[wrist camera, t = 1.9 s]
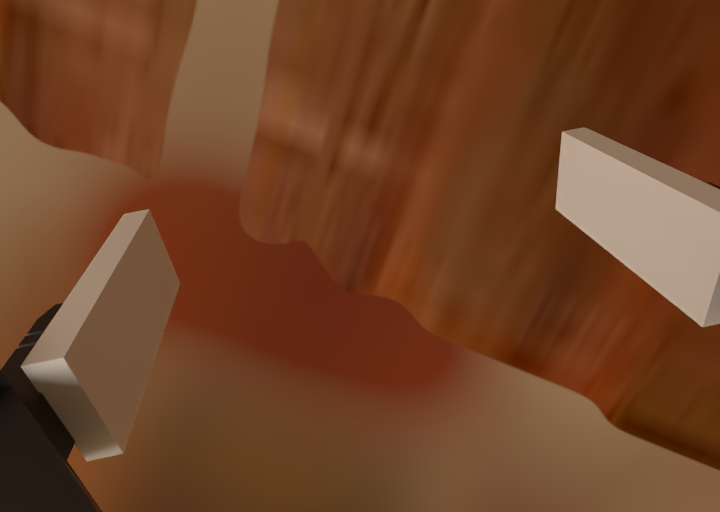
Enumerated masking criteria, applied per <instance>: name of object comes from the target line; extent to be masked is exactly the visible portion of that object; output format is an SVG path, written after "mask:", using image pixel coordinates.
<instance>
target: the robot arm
mask: <svg viewBox="0 0 720 512" xmlns="http://www.w3.org/2000/svg"><path fill="white" fill-rule="evenodd" d="M555 209H556V210H557V211H558V212H560V213H561V214H562V215H563V216H565V217H566V218H567V219H568V220H570V221H571V222H572V223H573V224H575V225H576V226H577V227H578V228H580V229H581V230H582V231H583V232H585V233H586V234H587V235H588V236H590V237H591V238H592V239H593V240H595V241H596V242H597V243H598V244H600V245H601V246H602V247H603V248H605V249H606V250H607V251H608V252H610V253H611V254H612V255H613V256H614V257H616V258H617V259H618V260H619V261H621V262H622V263H623V264H624V265H626V266H627V267H628V268H629V269H631V270H632V271H633V272H634V273H636V274H637V275H638V276H639V277H641V278H642V279H643V280H644V281H646V282H647V283H648V284H649V285H651V286H652V287H653V288H654V289H656V290H657V291H658V292H659V293H661V294H662V295H663V296H664V297H665V298H667V299H668V300H669V301H670V302H672V303H673V304H674V305H675V306H677V307H678V308H679V309H680V310H682V311H683V312H684V313H685V314H687V315H688V316H689V317H690V318H692V319H693V320H694V321H695V322H697V323H698V324H699V325H700V326H702V327H707V326H711V325H716V324H720V187H719V186H717V185H714V184H712V183H708V182H704V181H700V180H698V179H696V178H694V177H692V176H690V175H687V174H685V173H683V172H681V171H679V170H677V169H674V168H672V167H670V166H668V165H666V164H663V163H661V162H659V161H657V160H655V159H653V158H650V157H648V156H646V155H644V154H642V153H640V152H637V151H635V150H633V149H631V148H629V147H627V146H624V145H622V144H620V143H618V142H616V141H613V140H611V139H609V138H607V137H605V136H603V135H600V134H598V133H596V132H594V131H592V130H590V129H587V128H585V127H584V128H578V129H573V130H568V131H562V137H561V149H560V161H559V172H558V184H557V196H556V208H555ZM179 285H180V282H179V280H178V278H177V275H176V273H175V270H174V268H173V265H172V263H171V260H170V258H169V255H168V253H167V251H166V248H165V246H164V243H163V241H162V238H161V236H160V233H159V231H158V229H157V226H156V224H155V221H154V219H153V217H152V214H151V212H150V209H148V210H142V211H137V212H132V213H127V214H124V215H123V216H122V218H121V219H120V221H119V222H118V224H117V225H116V227H115V228H114V230H113V231H112V232H111V234H110V235H109V237H108V238H107V240H106V241H105V243H104V245H103V246H102V247H101V249H100V250H99V252H98V253H97V255H96V256H95V257H94V259H93V260H92V262H91V263H90V265H89V266H88V268H87V269H86V271H85V272H84V274H83V275H82V277H81V278H80V280H79V281H78V283H77V284H76V285H75V287H74V288H73V290H72V292H71V293H70V294H69V296H68V297H67V299H66V300H65V302H64V303H61V304H57V305H55V306H53V307H52V308H51V309H49V310H48V311H47V312H46V313H45V314H44V315H42V316H41V317H40V318H38V319H37V321H36V322H35V324H34V325H33V326H32V328H31V329H30V330H29V332H28V333H27V334H28V336H25V337H24V339H23V340H22V341H21V343H20V344H19V348H18V349H16V350H15V351H14V353H13V354H12V356H11V357H10V358H9V359H8V361H7V362H6V364H5V365H4V366H3V368H2V369H1V370H0V512H102V510H101V509H100V508H99V506H98V505H97V503H96V502H95V500H94V499H93V497H92V496H91V495H90V493H89V492H88V490H87V489H86V487H85V486H84V484H83V483H82V481H81V480H80V479H79V477H78V476H77V474H76V473H75V471H74V470H73V469H72V467H71V466H70V465H69V463H68V462H67V459H68V457H69V454H70V452H71V450H72V448H73V445H74V444H75V445H76V446H77V448H78V449H79V450H80V452H81V453H82V455H83V456H84V458H85V459H86V461H91V460H95V459H100V458H105V457H109V456H113V455H118V454H123V453H124V450H125V447H126V444H127V441H128V438H129V435H130V432H131V429H132V426H133V423H134V420H135V417H136V414H137V411H138V408H139V405H140V402H141V399H142V396H143V393H144V390H145V387H146V384H147V380H148V378H149V375H150V372H151V369H152V366H153V363H154V360H155V357H156V354H157V351H158V348H159V345H160V342H161V339H162V336H163V333H164V330H165V327H166V324H167V321H168V318H169V315H170V312H171V309H172V306H173V303H174V300H175V297H176V294H177V291H178V287H179Z"/></svg>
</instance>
